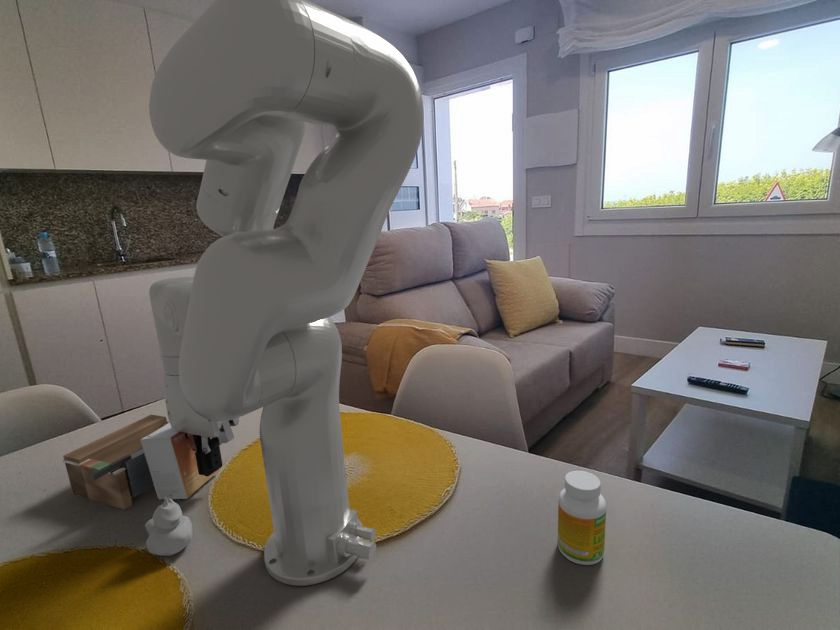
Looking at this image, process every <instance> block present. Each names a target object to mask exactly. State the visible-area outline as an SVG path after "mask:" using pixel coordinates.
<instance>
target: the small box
mask: <svg viewBox="0 0 840 630" xmlns="http://www.w3.org/2000/svg"><path fill="white" fill-rule="evenodd" d="M168 422H169V421H168ZM211 438H212V437H211ZM211 438H210V439H211ZM141 444H142V447H143V450H144V454H145V457H146V460H147V464H148V467H149V470H150V473H151V477H152V480H153V483H154V485H153V487H154V489H155V494H156V496H157V499H158V500H164V499H165V497H167V500H168V499H169V498H170V499H172V500H186V499H189V498H190V497H191V496H192V495H193V494H194V493H195V492H196V491H198V490H199V489H200V488H202V486H203V485H204V484H205V483H207V482H208V481H209V480H210V479H212V477H214V476H216V475H217V474H218V473H219V472H220V469H218V470H217V471H215V472H214V473H213V474H211V475H210V476H208V477H207V476H204V475H199V472H198V467H197V461H196V456H195V452H196V451H193V450H192V449H191V446H190V443H189V440H188V439H187V438H186V436H185V432H180V431H177V430H174V429H173V428H172V427H171V425H170V422H169V423H168V424H166V425H164V426H163V427H161V428H160V429H158V430H156V431H155V432H153V433H151V434H150V435H148V436H146V437H144V438H142V439H141Z"/></svg>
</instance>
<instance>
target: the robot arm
mask: <svg viewBox="0 0 840 630" xmlns="http://www.w3.org/2000/svg"><path fill="white" fill-rule="evenodd" d="M421 91H422V90H421V87H420V85H419V80H418V78H417V76H416V74H415V72H414V69H413V68H412V66H411V65H410V63H409V62H408V60H407V59H406V58H405V56H404V55H403V54H402V53H401V52H400V51H399V50H398V49H397V48H396V47H395V46H394V45H393V44H391V43H390V42H389V41H388V40H386V39H385V38H383V37H382V36H380V35H378V34H377V33H375V32H374V31H372V30H370V29H368V28H367V27H365V26H363V25H361V24H359V23H357V22H355V21H353V20H351V19H349V18H347V17H344V16H342V15H340V14H338V13H335V12H333V11H331V10H328V9H326V8H325V7H322V6H321V5H318V4H316V3H315V2H313V1H310V0H214V1H213V2H212V3H211V4H210V5H209V6H208V7H207V8H206V9H205V10H204V12H203V13H202V14H200V16H199V17H198V18H197V19H196V20H195V21H194V23H192V25H191V26H189V28H188V29H186V31H185V32H184V33H183V34H182V35H181V36H180V37H179V38H178V39H177V41H176V42H175V43H174V44H173V45H172V47H171V48H170V49H169V50H168V52H167V53H166V55H165V57H164V58H163V59H162V61H161V62H160V63H159V66H158V68H157V70H156V72H155V74H154V77H153V81H152V84H151V88H150V94H149V103H148V109H149V112H148V113H149V118H150V124H151V128H152V131H153V132H154V136H155V137H156V139H157V140H158V142H159V143H160V145H161V146H162V147H163V148H164V149H165V150H166V151H167V152H169V153H171V154H172V155H175V156H176V157H181V158H184V159H190V160H205V165H204V170H203V173H202V178H201V183H200V188H199V192H198V196H197V199H196V206H195V207H196V211H197V215H198V217H199V219H200V220H201V222H202V223H203V224H204V225H205V226H206V227H208V228H209V230H211V231H213V232H215V233H216V234H218V235H219V236H221V237H219V238H218V239H216V240H215V241H214V242H212V243H211V245H209V246H208V247H207V248H206V249H205V251H203V253H202V255H201V256H200V258H199V260H198V262H197V265H196V268H195V271H194V276H183V277H181V276H179V277H170V278H165V279H161V280H157V281H155V282H153V283H152V284H151V285H150V287H149V291H148V293H149V300H150V305H151V306H150V307H151V310H152V316H153V321H154V327H155V331H156V337H157V342H158V347H159V351H160V359H161V364H162V368H163V389H164V399H165V401H164V402H165V407H166V408H165V409H166V412H167V417H168V422H170V425H171V427H172V428H173V429H174V430H177V431H180V432H185V436H186V438H187V439H188V440H189V443H190V446H191V449H192V450H193V451H196V452H195V456H196V461H197V467H198V472H199V475H204V476H207V477H208V476H210V475H211V474H213V473H214V472H215V471H217V470H218V469H219V470H220V469H221V468H222V467H223V459H222V454H221V447H220V446H221V445H222V444H227V443H229V442H231V441H233V440H234V439H235V436H234V433H233V430H232V427H235V426H237V425H239V423H240V418H241V417H244V416H245V415H249V414H251V413H253V412H255V411H258V410H260V409H261V408H262V410H261V411H262V412H261V416H260V420H259V421H260V422H259V440H260V447H261V453H262V460H263V467H264V472H265V479H266V480H265V482H266V488H267V494H268V495H267V496H268V501H269V507H270V513H271V521H272V528H273V532H272V533H271V535H270V536H269V537H268V539H267V540H266V543H265V546H264V548H263V549H264V550H263V558H264V559H263V560H264V564H265V565H264V566H265V568H266V571H267V572H268V574H269V575H270V576H271V577H272V578H273V579H275V580H276V581H278V582H280V583H282V584H285V585H286V584H287V585H291V586H311V585H316V584H319V583H320V584H321V583H323V582H326V581H328V580H329V581H330V580H331V579H333V578H335V577H337V576H338V575H340V574H342V573H344V571H346V570H347V569H348V568H349V567H351V566H352V565H353V564H354V562H355V561H357V560H358V558H359V559H362V560H366V561H373V559H374V558H375V556H376V552H377V543H376V542H374V541H375V538H376V537H377V536H376V535H377V530H376V529H375V528H373V527H372V528H371V527H367V526H363V523H362V522H361V520H360V519H359V518H358V510H357V509H351V508H350V501H349V493H348V482H347V474H346V472H347V471H346V462H345V453H344V443H343V434H342V433H343V430H342V423H341V422H342V421H341V411H340V410H341V409H340V380H341V379H340V378H341V369H342V361H343V360H342V358H343V357H342V356H343V353H342V352H343V351H342V349H343V348H342V339H341V335H340V331H339V329H338V327H337V325H336V324H335V322H334V320H333V319H332V318H331V317H333V316H335V315H337V314H339V313H341V312H343V311H344V310H345V309H346V308H347V307H348V306H349V305H350V303H351V302H352V300H353V299H354V296H355V294H356V293H357V291H358V288H359V285H360V283H361V281H362V278H363V276H364V273H365V271H366V269H367V266H368V264H369V261H370V259H371V257H372V255H373V252H374V249H375V248H376V245H377V243H378V240H379V238H380V235H381V233H382V230H383V227H384V224H385V222H386V219H387V217H388V214H389V213H390V210H391V208H392V206H393V204H394V202H395V199H396V197H397V196H398V194H399V192H400V191H401V188H402V186H403V183H404V182H405V180H406V179H407V176H408V173H409V172H410V170H411V167H412V165H413V163H414V160H415V159H416V156H417V153H418V150H419V147H420V143H421V139H422V134H423V129H424V128H423V127H424V119H425V118H424V117H425V116H424V101H423V96H422V92H421ZM306 123H309V124H314V125H321V126H326V127H330V128H331V127H332V128H334V130H335V134H336V135H335V137H334V138H333V140H331V142H329V143H328V145H326V146H325V147H324V148H323V149H322V150H321V152H319V154H317V156H316V157H315V158H314V160H312V162H311V164H310V165H309V167H308V168H307V170H306V171H305V173H304V175H303V176H302V179H301V181H300V184H299V186H298V189H297V194H296V197H295V200H294V203H293V207H292V209H291V211H290V215H289V216H288V218H287V221H286V222H285V223H284V224H283V225H281V226H279V227H276V228H274V227H275V223H276V220H277V217H278V214H279V211H280V208H281V205H282V202H283V200H284V196H285V193H286V191H287V187H288V184H289V182H290V178H291V175H292V173H293V172H292V171H293V170H294V166H295V163H296V160H297V157H298V154H299V151H300V147H301V144H302V143H303V140H304V139H303V138H304V136H305V131H306ZM210 438H211V439H210Z"/></svg>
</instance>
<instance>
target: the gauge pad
mask: <svg viewBox="0 0 840 630" xmlns="http://www.w3.org/2000/svg"><path fill="white" fill-rule="evenodd" d="M120 466H123V467H125V468H126V469H125V475H126V479H127V483H128V488H129V492H130V496H131V498H134V497H137V496H138V495H140V494H141V493H143V492H144V491H146V490H148V489H149V488H151V487H153V486H154V483H153V480H152V477H151V473H150V470H149V467H148V464H147V460H146V457H145V454H144V450H143V449H141V450H139V451H137V452H135V453H134V454H132V455H126V456H124V457H122V458H121V459H119V460H117V461H115V462H113V463H111V464H109V465H107V466H105V467H104V468H102V469H100V470H98V471H96V472H94V473H92V474H90V477H91V480H96V479H98V478H100V477H102V476H103V475H105V474H107V473H109V472H111V471H113V470H114V469H116V468H118V467H120Z"/></svg>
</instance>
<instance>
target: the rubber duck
mask: <svg viewBox="0 0 840 630" xmlns="http://www.w3.org/2000/svg"><path fill="white" fill-rule="evenodd" d="M173 500H174V499H170V498H169V499H167V497H165V499H163V503H162V504H159V505H157V507H156V509H155V510H154V511H153V514H152V518H150V519H149V520H148V521H147V522H146V523H145V524H144V528H145V530H146V532H147V533H148V537H147V539H146V548H147V550H148V552H149V553H151V554H152V555H157V556H166V557H168V556H173V555H176V554H178V553H179V552H181V551H183V550H184V548H186V547H187V546H189V544H190V543H191V541H192V540H193V524H192V521H191V519H190V518H189V517H188V516H186V515H183V511H182V509H181V506H180V505H179V503H177V502H175V501H173Z"/></svg>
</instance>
